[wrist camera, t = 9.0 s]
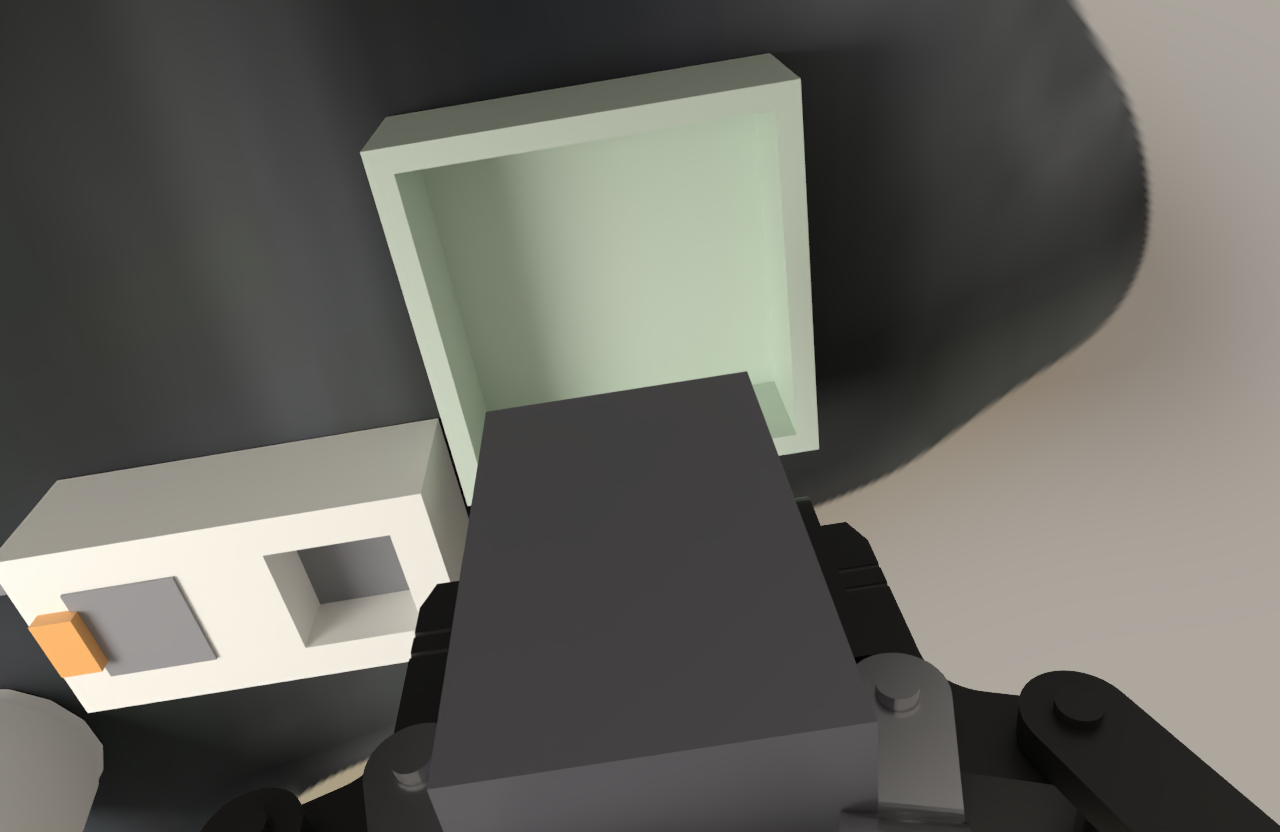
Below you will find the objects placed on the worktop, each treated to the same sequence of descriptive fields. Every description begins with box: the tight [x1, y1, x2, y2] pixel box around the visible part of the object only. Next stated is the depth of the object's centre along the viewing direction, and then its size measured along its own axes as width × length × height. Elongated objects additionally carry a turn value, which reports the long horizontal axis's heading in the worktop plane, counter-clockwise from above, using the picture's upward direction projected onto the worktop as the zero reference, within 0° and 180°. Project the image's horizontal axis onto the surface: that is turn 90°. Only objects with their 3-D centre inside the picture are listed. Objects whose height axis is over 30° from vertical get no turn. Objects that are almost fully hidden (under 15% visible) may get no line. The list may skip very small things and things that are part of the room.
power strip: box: [0, 418, 469, 713], centre depth 28 cm, size 6×18×4 cm, turn 99°
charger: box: [427, 371, 878, 832], centre depth 13 cm, size 6×4×9 cm
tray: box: [360, 53, 819, 506], centre depth 24 cm, size 10×10×4 cm
